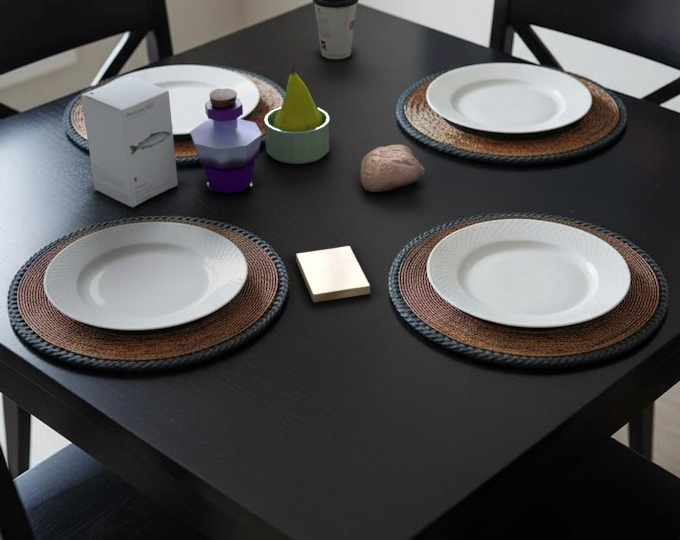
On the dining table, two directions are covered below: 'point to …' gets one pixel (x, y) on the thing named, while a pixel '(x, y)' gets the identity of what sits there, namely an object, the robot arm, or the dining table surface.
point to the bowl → (297, 141)
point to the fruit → (297, 108)
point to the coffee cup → (335, 26)
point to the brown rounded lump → (389, 168)
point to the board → (332, 274)
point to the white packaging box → (130, 140)
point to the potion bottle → (227, 144)
